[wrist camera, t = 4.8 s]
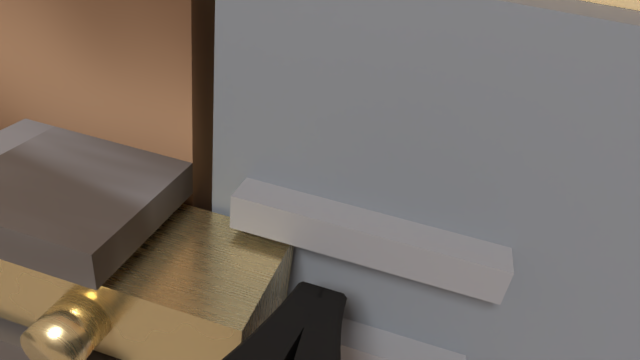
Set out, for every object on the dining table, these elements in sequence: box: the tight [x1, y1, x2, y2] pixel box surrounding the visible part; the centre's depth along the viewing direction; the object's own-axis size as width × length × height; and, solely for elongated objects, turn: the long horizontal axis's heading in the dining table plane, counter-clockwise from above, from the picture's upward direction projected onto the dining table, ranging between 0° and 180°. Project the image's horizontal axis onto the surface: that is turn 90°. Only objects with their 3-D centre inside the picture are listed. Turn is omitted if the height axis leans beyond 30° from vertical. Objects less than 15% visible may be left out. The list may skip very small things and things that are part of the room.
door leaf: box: [212, 0, 640, 360], centre depth 14 cm, size 16×12×3 cm
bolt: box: [0, 204, 294, 360], centre depth 13 cm, size 2×7×5 cm, turn 82°
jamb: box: [0, 0, 215, 360], centre depth 15 cm, size 16×7×6 cm, turn 172°
